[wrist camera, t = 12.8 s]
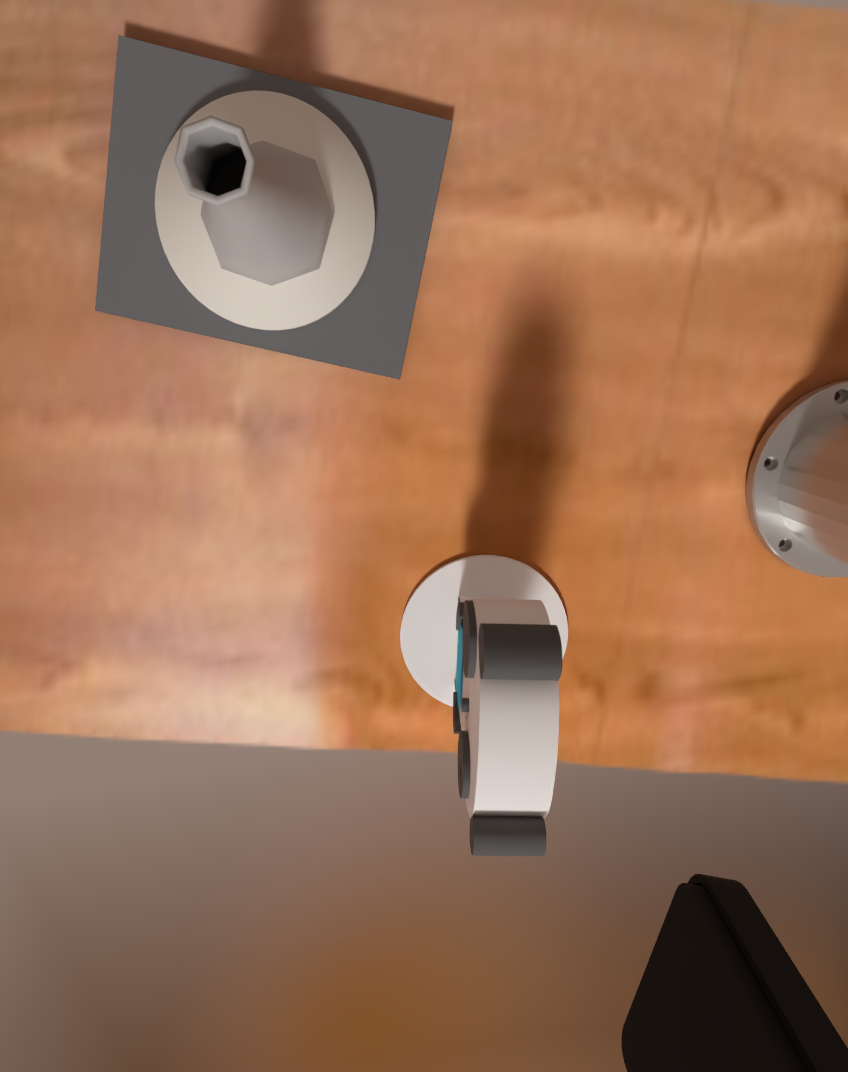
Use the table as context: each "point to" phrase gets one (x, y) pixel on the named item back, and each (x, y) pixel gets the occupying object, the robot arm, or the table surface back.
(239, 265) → the flask
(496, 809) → the white upright piece
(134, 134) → the saucer mat
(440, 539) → the table surface
